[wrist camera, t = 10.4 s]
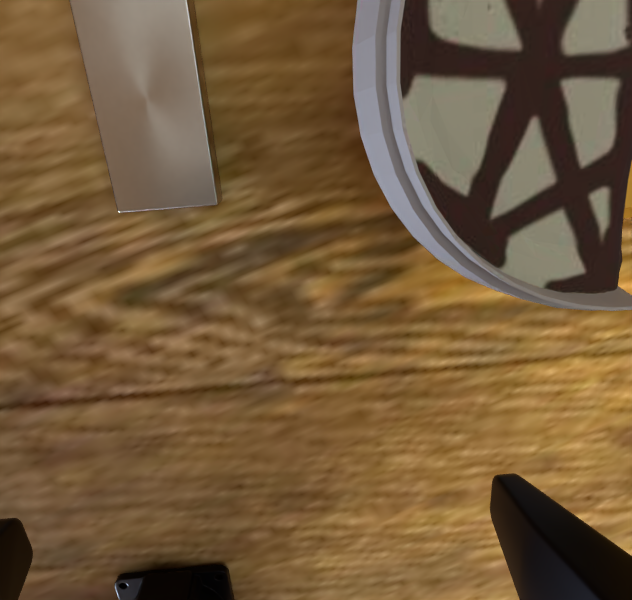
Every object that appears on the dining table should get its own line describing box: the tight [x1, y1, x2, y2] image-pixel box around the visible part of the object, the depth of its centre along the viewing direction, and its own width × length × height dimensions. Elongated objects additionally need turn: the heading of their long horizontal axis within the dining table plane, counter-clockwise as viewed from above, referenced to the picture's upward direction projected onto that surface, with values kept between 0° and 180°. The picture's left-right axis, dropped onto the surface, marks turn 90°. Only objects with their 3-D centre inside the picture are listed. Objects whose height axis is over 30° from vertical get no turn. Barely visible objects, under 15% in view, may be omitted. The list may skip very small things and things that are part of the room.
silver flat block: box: [69, 0, 222, 213], centre depth 17 cm, size 8×4×1 cm, turn 4°
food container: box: [352, 0, 632, 311], centre depth 13 cm, size 12×6×10 cm, turn 8°
